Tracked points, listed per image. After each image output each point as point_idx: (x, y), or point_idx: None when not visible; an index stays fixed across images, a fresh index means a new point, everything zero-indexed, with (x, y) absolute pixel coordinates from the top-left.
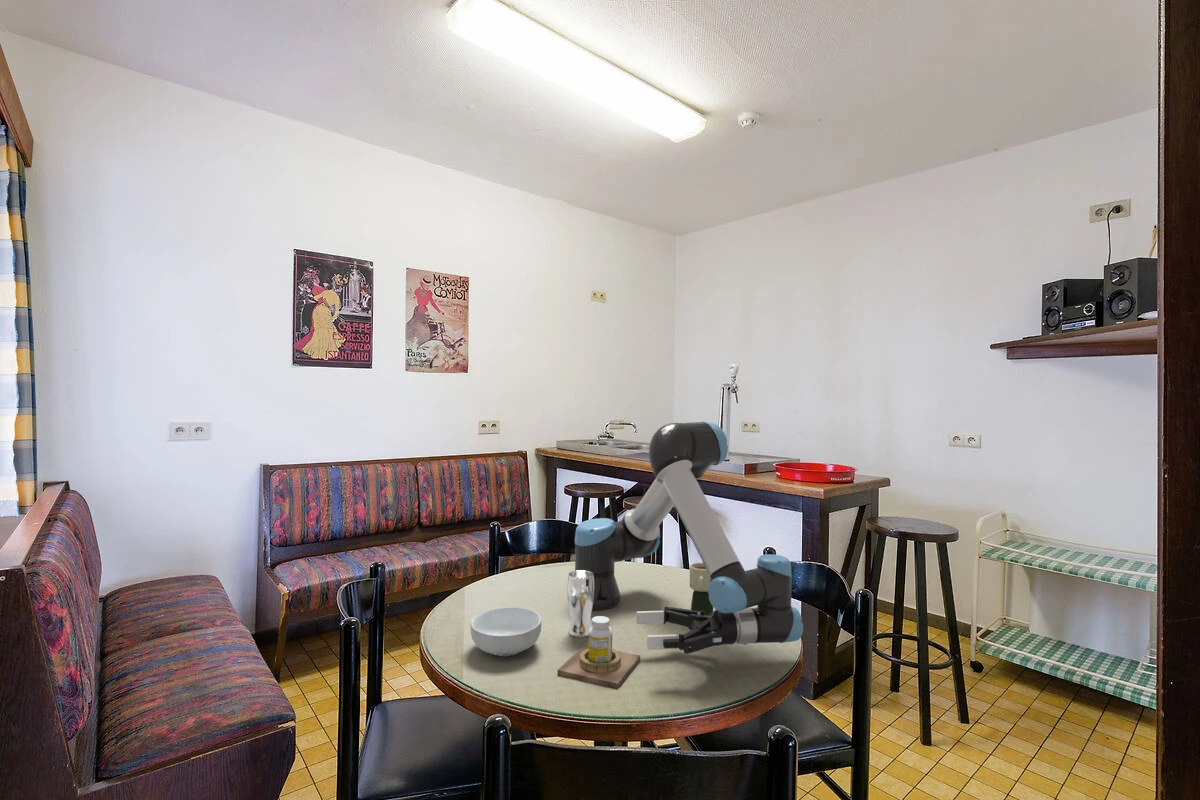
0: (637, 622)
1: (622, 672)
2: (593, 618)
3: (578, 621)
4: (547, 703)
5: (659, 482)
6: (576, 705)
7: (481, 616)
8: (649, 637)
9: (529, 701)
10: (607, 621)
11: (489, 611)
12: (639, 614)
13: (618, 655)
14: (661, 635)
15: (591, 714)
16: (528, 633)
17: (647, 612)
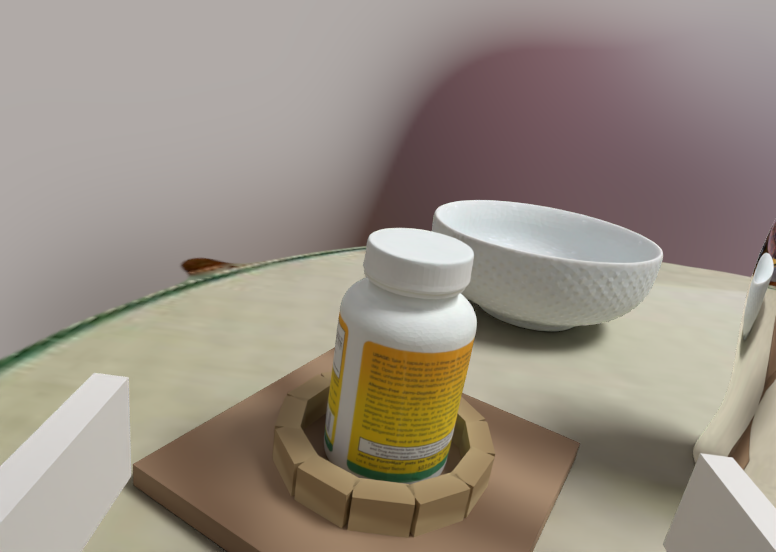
0: (671, 537)
1: (238, 512)
2: (435, 233)
3: (728, 399)
4: (165, 315)
5: None
6: (101, 356)
7: (577, 222)
8: (87, 387)
9: (201, 296)
10: (387, 251)
11: (608, 226)
12: (706, 487)
13: (379, 492)
14: (27, 468)
15: (4, 373)
16: (466, 243)
17: (767, 542)
